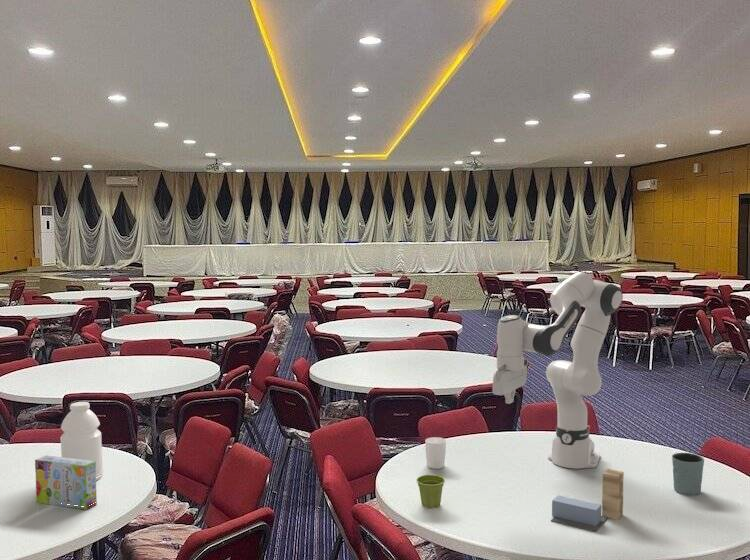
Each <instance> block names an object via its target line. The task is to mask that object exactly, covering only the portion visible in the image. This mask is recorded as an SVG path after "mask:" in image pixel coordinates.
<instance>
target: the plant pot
mask: <svg viewBox="0 0 750 560" xmlns="http://www.w3.org/2000/svg"><path fill="white" fill-rule="evenodd" d="M445 482H446V478H445V477H444V476H441V475H437V474H424V475H420V476H418V477H417V478H416V483H417V486H418V488H419V489H418V490H419V494H420V495H419V496H420V501H421V502H420V503H421V505H422V507H423V508H426V509H433V508H435V509H436V508H439V507H440V506H441V502H442V494H443V487H444V483H445Z"/></svg>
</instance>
